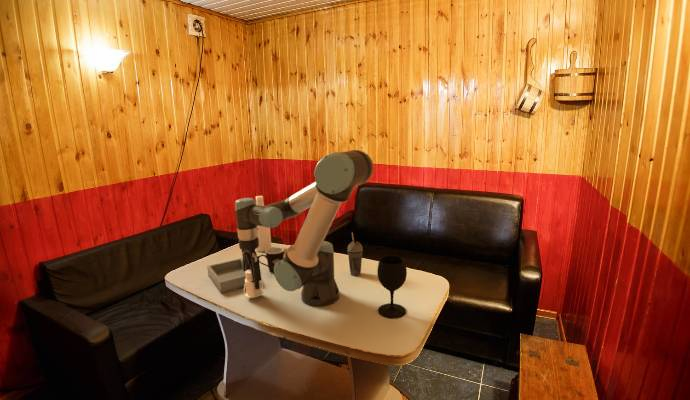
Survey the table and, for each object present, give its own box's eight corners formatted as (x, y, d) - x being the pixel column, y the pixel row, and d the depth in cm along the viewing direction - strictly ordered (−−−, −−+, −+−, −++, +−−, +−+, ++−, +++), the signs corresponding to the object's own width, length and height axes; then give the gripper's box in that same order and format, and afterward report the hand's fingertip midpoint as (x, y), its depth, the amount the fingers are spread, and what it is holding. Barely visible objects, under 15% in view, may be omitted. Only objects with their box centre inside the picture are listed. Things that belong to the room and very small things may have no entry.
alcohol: (273, 246, 208) (269, 194, 201) (268, 252, 199) (264, 198, 193) (258, 246, 209) (254, 194, 203) (252, 252, 200) (248, 198, 194)
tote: (258, 283, 161) (257, 273, 160) (221, 293, 152) (219, 282, 151) (242, 267, 179) (241, 258, 178) (208, 276, 171) (207, 265, 169)
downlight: (260, 287, 153) (257, 265, 151) (267, 294, 147) (263, 270, 145) (242, 294, 149) (238, 271, 147) (247, 300, 143) (243, 276, 141)
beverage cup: (366, 275, 166) (365, 233, 162) (351, 278, 163) (350, 235, 159) (359, 270, 173) (358, 229, 168) (345, 272, 170) (344, 231, 166)
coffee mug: (287, 267, 179) (286, 247, 176) (282, 274, 170) (281, 253, 168) (264, 266, 180) (262, 247, 178) (258, 274, 171) (256, 253, 169)
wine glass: (371, 311, 135) (371, 260, 131) (389, 301, 142) (389, 252, 138) (394, 321, 128) (394, 268, 124) (412, 310, 135) (412, 259, 131)
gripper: (267, 242, 137) (272, 299, 142) (249, 230, 154) (254, 281, 158) (247, 246, 133) (253, 304, 138) (231, 234, 150) (237, 286, 154)
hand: (253, 292), depth 148 cm, fingers closed on downlight, 7 cm apart
